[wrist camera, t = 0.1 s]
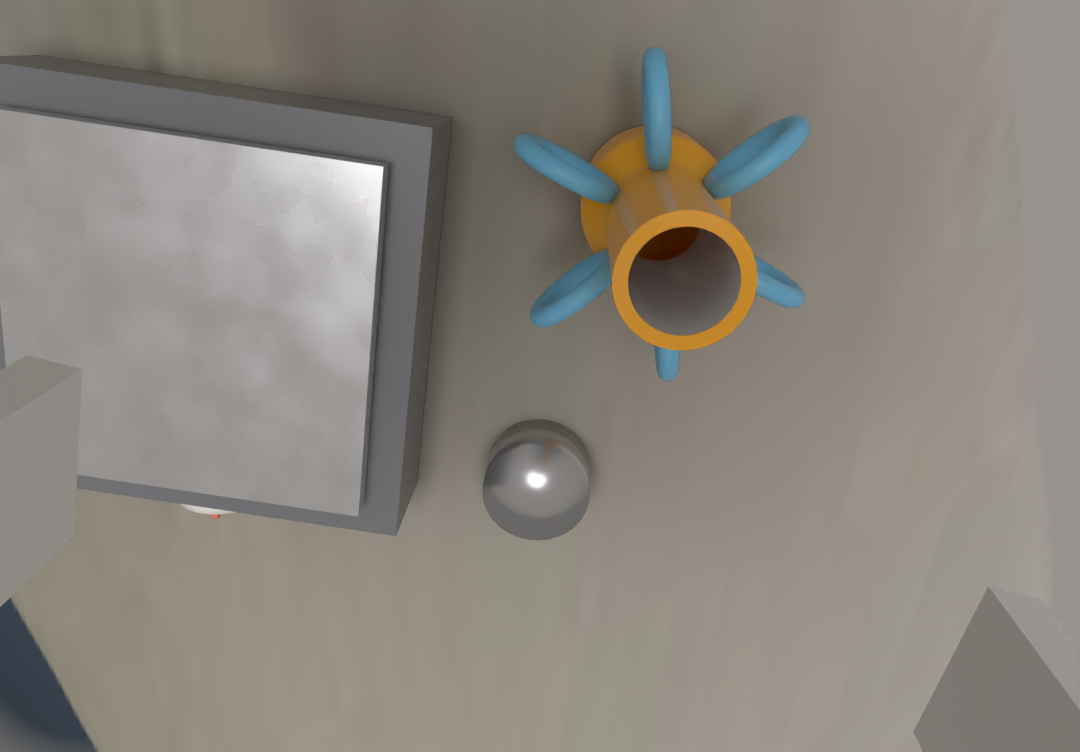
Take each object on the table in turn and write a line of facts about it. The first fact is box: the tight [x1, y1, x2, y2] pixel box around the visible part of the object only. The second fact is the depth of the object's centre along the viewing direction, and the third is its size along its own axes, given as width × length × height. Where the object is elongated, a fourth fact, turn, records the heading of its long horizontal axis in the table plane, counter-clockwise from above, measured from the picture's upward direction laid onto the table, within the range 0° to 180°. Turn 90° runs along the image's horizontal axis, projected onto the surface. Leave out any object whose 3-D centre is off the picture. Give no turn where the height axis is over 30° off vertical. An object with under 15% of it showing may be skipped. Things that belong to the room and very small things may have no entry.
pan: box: [0, 105, 389, 517], centre depth 37 cm, size 15×15×5 cm
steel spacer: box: [483, 420, 589, 540], centre depth 42 cm, size 5×5×3 cm
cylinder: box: [514, 47, 810, 381], centre depth 31 cm, size 12×10×15 cm
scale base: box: [0, 55, 452, 536], centre depth 38 cm, size 19×18×5 cm
